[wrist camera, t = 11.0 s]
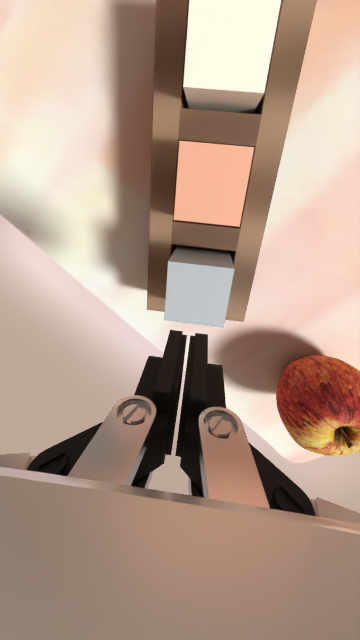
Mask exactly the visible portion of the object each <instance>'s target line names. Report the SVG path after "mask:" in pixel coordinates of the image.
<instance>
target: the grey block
mask: <svg viewBox="0 0 360 640" xmlns="http://www.w3.org/2000/svg"><path fill="white" fill-rule="evenodd" d="M234 270H235V268H234V265H233V262H232V259H231V255H230V253H227V252H217V251H208V250H199V249H190V248H181V247H177V248H176V249H175V251H174V252H173V254H172V256H171V257H170V259H169V261H168V271H167V286H166V301H165V316H164V320H168V321H176V322H184V323H192V324H200V325H207V326H215V327H223V328H224V323H225V317H226V312H227V307H228V301H229V296H230V291H231V286H232V280H233V275H234Z"/></svg>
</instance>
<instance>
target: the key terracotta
mask: <svg viewBox="0 0 360 640" xmlns="http://www.w3.org/2000/svg"><path fill="white" fill-rule="evenodd" d="M253 151H254V147H246V146H234V145H223V144H212V143H200V142H189V141H179V154H178V168H177V182H176V196H175V210H174V220H180V221H190V222H199V223H209V224H218V225H228V226H237V227H240V222H241V216H242V211H243V206H244V200H245V195H246V189H247V184H248V178H249V173H250V168H251V162H252V157H253Z"/></svg>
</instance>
